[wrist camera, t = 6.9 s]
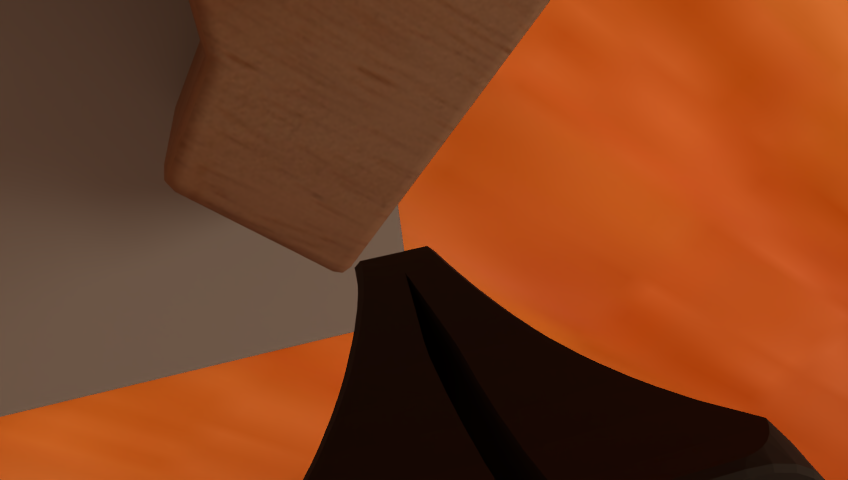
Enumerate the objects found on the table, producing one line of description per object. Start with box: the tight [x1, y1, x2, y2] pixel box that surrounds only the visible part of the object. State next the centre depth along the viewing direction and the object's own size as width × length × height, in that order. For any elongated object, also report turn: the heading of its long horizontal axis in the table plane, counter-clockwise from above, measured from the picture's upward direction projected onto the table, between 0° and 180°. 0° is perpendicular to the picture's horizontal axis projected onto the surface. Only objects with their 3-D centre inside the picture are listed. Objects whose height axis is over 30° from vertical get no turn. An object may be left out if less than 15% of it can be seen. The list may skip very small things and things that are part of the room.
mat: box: [0, 0, 404, 417], centre depth 18 cm, size 17×14×1 cm
